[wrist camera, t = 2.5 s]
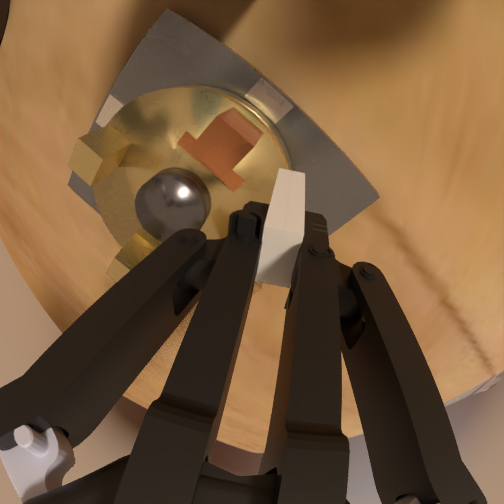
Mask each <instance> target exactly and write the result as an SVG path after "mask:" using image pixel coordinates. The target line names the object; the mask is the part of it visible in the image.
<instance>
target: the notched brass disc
mask: <svg viewBox="0 0 504 504" xmlns="http://www.w3.org/2000/svg"><path fill="white" fill-rule="evenodd" d="M68 167H69V168H70V169H72V170H73V171H74V172H75V173H76V174H77V175H78V176H79V177H80V178H82V179H83V180H84V181H85V182H86V183H87V184H88V185H89V186H92V185H93V192H94V196H95V200H96V204H97V206H98V209H99V212H100V214H101V216H102V218H103V220H104V222H105V224H106V226H107V227H108V229H109V231H110V232H111V234H112V235H113V236H114V238H115V239H116V240H117V241H118V243H119V244H120V245H121V246H122V247H123V248H122V249H121V250H120V252H119V253H118V254H117V255H116V256H115V258H114V259H113V261H112V263H111V264H110V266H109V268H108V270H107V271H106V274H107V275H108V276H110V277H111V278H112V279H113V280H115V281H116V282H118V281H119V280H120V279H121V278H122V277H123V276H125V275H126V274H127V273H128V272H129V271H130V270H131V269H133V268H134V267H135V266H136V265H137V264H138V263H139V262H141V261H142V260H143V259H144V258H145V257H146V256H148V255H149V254H150V253H151V252H152V251H153V250H155V249H156V248H157V247H158V246H159V245H161V244H162V243H163V242H164V241H165V240H167V239H168V238H169V237H170V236H171V235H173V234H174V233H175V232H177V231H179V230H181V229H185V228H194V229H198V230H200V231H202V232H204V233H205V235H206V237H207V239H221V238H225V237H227V235H228V226H229V215H230V214H231V213H232V212H234V211H237V210H242V209H243V207H244V205H245V204H246V203H248V202H250V201H255V202H260V203H266V204H270V201H271V198H272V194H273V190H274V186H275V182H276V179H277V175H278V171H279V168H281V169H286V170H291V171H293V169H292V164H291V159H290V156H289V153H288V151H287V148H286V145H285V143H284V141H283V140H282V138H281V136H280V134H279V132H278V131H277V130H276V128H275V127H274V125H273V124H272V123H271V121H270V120H269V119H268V118H267V117H266V116H265V115H264V114H263V113H262V112H261V111H260V110H259V109H257V108H256V107H255V106H253V105H252V104H251V103H249V102H248V101H247V100H245V99H243V98H241V97H239V96H237V95H236V94H233V93H231V92H228V91H226V90H223V89H220V88H215V87H210V86H203V85H186V86H177V87H172V88H166V89H161V90H157V91H154V92H150V93H147V94H145V95H142V96H140V97H138V98H136V99H134V100H132V101H131V102H129V103H128V104H126V105H125V106H124V107H122V108H121V109H120V110H119V111H118V112H117V113H116V114H115V115H114V116H113V117H112V118H111V120H110V121H109V122H108V123H107V125H106V126H105V127H102V128H100V129H98V130H95V131H93V132H91V133H89V134H86V135H84V136H82V137H80V138H78V140H77V143H76V145H75V148H74V150H73V153H72V156H71V158H70V161H69V164H68ZM261 288H262V282H258V281H255V283H254V289H253V293H252V295H253V294H254V293H256V292H257V291H259V290H260V289H261Z"/></svg>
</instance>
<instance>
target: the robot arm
mask: <svg viewBox="0 0 504 504" xmlns="http://www.w3.org/2000/svg"><path fill="white" fill-rule="evenodd" d="M8 9H9V0H0V42H1V39H2V35H3V32H4V28H5V24H6V20H7V15H8ZM255 281H258V282H262V283H267V284H272V285H277V286H282V287H288V288H289V287H290V284H291V287H290V291H289V294H288V297H287V301H286V304H285V307H284V309H286V316H285V324H284V332H283V339H282V347H281V354H280V361H279V368H278V375H277V382H276V389H275V395H274V401H273V408H272V414H271V420H270V426H269V432H268V437H267V443H266V448H265V452H264V455H263V457H262V461H261V465H260V469H259V474H258V475H255V476H237V475H234V474H232V473H230V472H228V471H225V470H223V469H221V468H219V467H217V466H215V465H213V464H211V460H212V457H213V452H214V448H215V443H216V438H217V434H218V430H219V426H220V422H221V419H222V415H223V411H224V407H225V403H226V399H227V395H228V391H229V387H230V383H231V379H232V375H233V371H234V367H235V363H236V359H237V355H238V351H239V347H240V343H241V338H242V334H243V330H244V326H245V322H246V318H247V314H248V310H249V306H250V301H251V297H252V293H253V289H254V283H255ZM198 300H199V302H198ZM197 302H198V304H197V307H196V309H195V311H194V314H193V316H192V319H191V321H190V323H189V326H188V328H187V331H186V333H185V336H184V338H183V341H182V343H181V346H180V348H179V351H178V353H177V355H176V358H175V361H174V363H173V366H172V368H171V371H170V373H169V376H168V378H167V381H166V383H165V386H164V389H163V391H162V393H161V396H160V397H159V398H158V399H157V400H155V401H153V402H152V404H151V405H150V406H149V408H148V410H147V412H146V415H145V417H144V420H143V422H142V425H141V428H140V430H139V433H138V436H137V439H136V441H135V444H134V446H133V449H132V452H131V454H130V455H127V456H124V457H122V458H120V459H118V460H116V461H114V462H112V463H110V464H108V465H106V466H104V467H102V468H100V469H98V470H96V471H94V472H92V473H90V474H88V475H86V476H84V477H82V478H79V479H77V480H75V481H73V482H71V483H68V484H66V485H64V486H62V479H63V477H64V475H65V474H66V472H67V471H68V470H69V469H70V468H71V467H73V466H74V464H75V457H74V453H73V448H74V447H76V446H77V445H79V444H80V443H81V442H83V441H84V440H85V439H86V438H87V437H88V436H89V435H90V434H91V433H92V432H93V431H94V430H95V429H96V427H97V426H98V425H99V424H100V423H101V421H102V420H103V419H104V418H105V416H106V415H107V414H108V412H109V411H110V410H111V409H112V407H113V406H114V405H115V404H116V402H117V401H118V400H119V398H120V397H121V396H122V395H123V394H124V392H125V391H126V390H127V388H128V387H129V386H130V385H131V383H132V382H133V381H134V380H135V378H136V377H137V376H138V375H139V373H140V372H141V371H142V370H143V368H144V367H145V366H146V365H147V363H148V362H149V361H150V360H151V358H152V357H153V356H154V355H155V353H156V352H157V351H158V350H159V349H160V347H161V346H162V345H163V344H164V342H165V341H166V340H167V339H168V337H169V336H170V335H171V334H172V332H173V331H174V330H175V329H176V328H177V326H178V325H179V324H180V323H181V321H182V320H183V319H184V318H185V316H186V315H187V314H188V313H189V312H190V310H191V309H192V308H193V307H194V305H195V304H196V303H197ZM341 351H342V354H343V358H344V361H345V365H346V368H347V371H348V375H349V379H350V382H351V386H352V389H353V393H354V397H355V401H356V404H357V408H358V412H359V416H360V420H361V424H362V428H363V432H364V436H365V441H366V445H367V449H368V454H369V458H370V463H371V467H372V472H373V477H374V481H375V485H376V489H377V492H378V494H379V497H380V500H381V502H382V504H487V501H486V498H485V496H484V494H483V493H482V491H481V490H480V488H479V486H478V485H477V483H476V482H475V480H474V479H473V477H472V475H471V474H470V472H469V471H468V469H467V468H466V466H465V465H464V463H463V462H462V460H461V457H460V453H459V450H458V446H457V443H456V440H455V436H454V433H453V430H452V427H451V424H450V421H449V418H448V415H447V412H446V409H445V407H444V404H443V401H442V399H441V396H440V393H439V391H438V388H437V386H436V383H435V381H434V378H433V376H432V373H431V371H430V368H429V366H428V364H427V361H426V359H425V357H424V355H423V352H422V350H421V348H420V346H419V344H418V341H417V339H416V337H415V335H414V333H413V331H412V329H411V327H410V325H409V323H408V321H407V319H406V317H405V315H404V313H403V311H402V309H401V307H400V305H399V303H398V301H397V299H396V297H395V295H394V293H393V291H392V290H391V288H390V286H389V284H388V282H387V280H386V279H385V277H384V275H383V273H382V272H381V271H380V269H378V268H377V267H376V266H374V265H373V264H371V263H367V262H357V263H355V264H354V265H353V267H352V268H351V267H349V266H346V265H344V264H342V263H340V262H339V261H337V260H336V259H335V254H334V252H333V250H332V249H331V248H330V247H329V239H328V229H327V220H326V219H325V218H324V216H323V215H322V214H319V213H314V212H309V211H305V173H301V172H296V171H291V170H286V169H281V168H279V171H278V175H277V179H276V182H275V186H274V190H273V194H272V198H271V201H270V204H266V203H260V202H255V201H250V202H248V203H246V204H245V205H244V207H243V209H242V210H237V211H234V212H232V213H231V214H230V215H229V226H228V235H227V237H225V238H221V239H207V237H206V235H205V233H204V232H202V231H200V230H198V229H194V228H185V229H181V230H179V231H177V232H175V233H174V234H173V235H171V236H170V237H169V238H168V239H167V240H165V241H164V242H163V243H162V244H161V245H159V246H158V247H157V248H156V249H155V250H153V251H152V252H151V253H150V254H149V255H148V256H146V257H145V258H144V259H143V260H142V261H141V262H139V263H138V264H137V265H136V266H135V267H134V268H133V269H131V270H130V271H129V272H128V273H127V274H126V275H125V276H123V277H122V278H121V279H120V280H119V281H118V282H117V283H116V284H115V285H113V286H112V287H111V288H110V289H109V290H108V291H107V292H106V293H105V294H104V295H102V296H101V297H100V298H99V299H98V300H97V301H96V302H95V303H94V304H93V305H92V306H91V307H90V308H89V309H88V310H86V311H85V312H84V313H83V314H82V315H81V316H80V317H79V318H78V319H77V320H76V321H75V322H74V323H73V324H72V325H71V326H70V327H69V328H68V329H67V330H66V331H65V332H64V333H63V334H62V335H61V336H60V337H59V338H58V339H57V340H56V341H55V342H54V343H53V344H52V345H51V346H50V347H49V348H48V349H47V350H46V351H45V352H44V353H43V354H42V355H41V357H40V358H39V359H38V360H37V361H36V362H35V363H34V364H33V365H32V366H31V367H30V369H28V371H27V372H26V373H25V374H24V375H23V376H21V377H19V378H18V379H16V380H14V381H12V382H10V383H9V384H7V385H5V386H3V387H1V388H0V457H1V460H2V462H3V465H4V467H5V469H6V471H7V473H8V476H9V478H10V480H11V482H12V484H13V486H14V488H15V490H16V492H17V494H18V496H19V497H20V499H21V501H22V503H23V504H350V503H349V502H348V501H347V499H346V494H347V483H348V468H349V453H350V450H349V441H348V438H347V437H346V436H345V435H344V434H343V433H342V430H341V407H342V364H341Z"/></svg>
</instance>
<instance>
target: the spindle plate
mask: <svg viewBox="0 0 504 504" xmlns="http://www.w3.org/2000/svg"><path fill="white" fill-rule="evenodd" d="M186 85H203V86H210V87H215V88H220V89H223V90H226V91H228V92H231V93H233V94H236V95H237V96H239V97H241V98H243V99H245V100H247V101H248V102H249V103H251V104H252V105H253V106H255V107H256V108H257V109H259V110H260V111H261V112H262V113H263V114H264V115H265V116H266V117H267V118H268V119H269V120H270V121H271V123H272V124H273V125H274V127H275V128H276V130H277V131H278V132H279V134H280V136H281V138H282V140H283V141H284V143H285V145H286V148H287V151H288V153H289V156H290V159H291V164H292V169H293V171H296V172H301V173H305V211H309V212H314V213H319V214H322V215H323V216H324V218H325V219H326V220H327V229H328V236H329V235H330V234H332V233H333V232H334V231H336V230H337V229H339V228H340V227H341V226H343V225H344V224H345V223H347V222H348V221H349V220H351V219H352V218H353V217H355V216H356V215H357V214H359V213H360V212H361V211H363V210H364V209H365V208H367V207H368V206H369V205H371V204H372V203H373V202H375V201H376V200H377V199H379V198H380V196H379V194H378V193H377V191H376V190H375V189H374V187H373V186H372V185H371V184H370V182H369V181H368V180H367V179H366V178H365V176H364V175H363V174H362V173H361V172H360V170H359V169H358V168H357V167H356V166H355V165H354V163H353V162H352V161H351V160H350V159H349V158H348V157H347V156H346V154H345V153H344V152H343V151H342V150H341V149H340V148H339V147H338V146H337V144H336V143H335V142H334V141H333V140H332V139H331V138H330V137H329V136H328V135H327V134H326V133H325V132H324V131H323V130H322V129H321V128H320V127H319V126H318V125H317V124H316V123H315V122H314V121H313V120H312V119H311V118H310V117H309V116H308V115H307V114H306V113H305V112H304V111H303V110H302V109H301V108H300V107H299V106H298V105H297V104H296V103H295V102H294V101H293V100H292V99H290V98H289V97H288V96H287V95H286V94H285V93H284V92H283V91H282V90H281V89H279V88H278V87H277V86H276V85H275V84H274V83H273V82H271V81H270V80H269V79H268V78H267V77H266V76H264V75H263V74H262V73H261V72H260V71H258V70H257V69H256V68H255V67H253V66H252V65H251V64H250V63H248V62H247V61H246V60H245V59H243V58H242V57H241V56H239V55H238V54H237V53H236V52H234V51H233V50H232V49H230V48H229V47H227V46H226V45H225V44H223V43H222V42H221V41H219V40H218V39H216V38H215V37H214V36H212V35H211V34H209V33H208V32H206V31H205V30H203V29H202V28H200V27H199V26H197V25H196V24H194V23H193V22H191V21H189V20H188V19H186V18H185V17H183V16H181V15H180V14H178V13H176V12H175V11H173V10H171V9H168V8H166V9H165V11H164V12H163V13H162V14H161V15H160V17H159V18H158V19H157V20H156V22H155V23H154V24H153V26H152V27H151V28H150V30H149V31H148V32H147V34H146V35H145V36H144V38H143V39H142V41H141V42H140V43H139V45H138V46H137V48H136V49H135V51H134V52H133V54H132V55H131V57H130V58H129V60H128V61H127V63H126V64H125V66H124V68H123V69H122V71H121V72H120V74H119V76H118V77H117V79H116V81H115V82H114V84H113V86H112V88H111V90H110V91H109V93H108V95H107V97H106V99H105V100H104V102H103V104H102V106H101V108H100V110H99V112H98V114H97V116H96V118H95V120H94V122H93V124H92V126H91V129H90V131H89V133H91V132H93V131H95V130H98V129H100V128H102V127H105V126H106V125H107V123H108V122H109V121H110V120H111V118H112V117H113V116H114V115H115V114H116V113H117V112H118V111H119V110H120V109H121V108H122V107H124V106H125V105H126V104H128V103H129V102H131V101H132V100H134V99H136V98H138V97H140V96H142V95H145V94H147V93H150V92H154V91H157V90H161V89H166V88H172V87H177V86H186ZM89 133H88V134H89ZM68 186H69V187H70V188H72V189H73V190H74V191H75V192H76V193H77V194H78V195H79V196H80V197H81V198H83V199H84V200H85V201H86V202H87V203H88V204H89V205H90V206H92V207H93V208H94V209H95V210H96V211H97V212H98V213H100V212H99V209H98V206H97V204H96V200H95V196H94V192H93V185H92V186H89V185H88V184H87V183H86V182H85V181H84V180H83V179H82V178H80V177H79V176H78V175H77V174H76V173H75V172H74V171H73V172H72V174H71V177H70V180H69V183H68Z"/></svg>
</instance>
